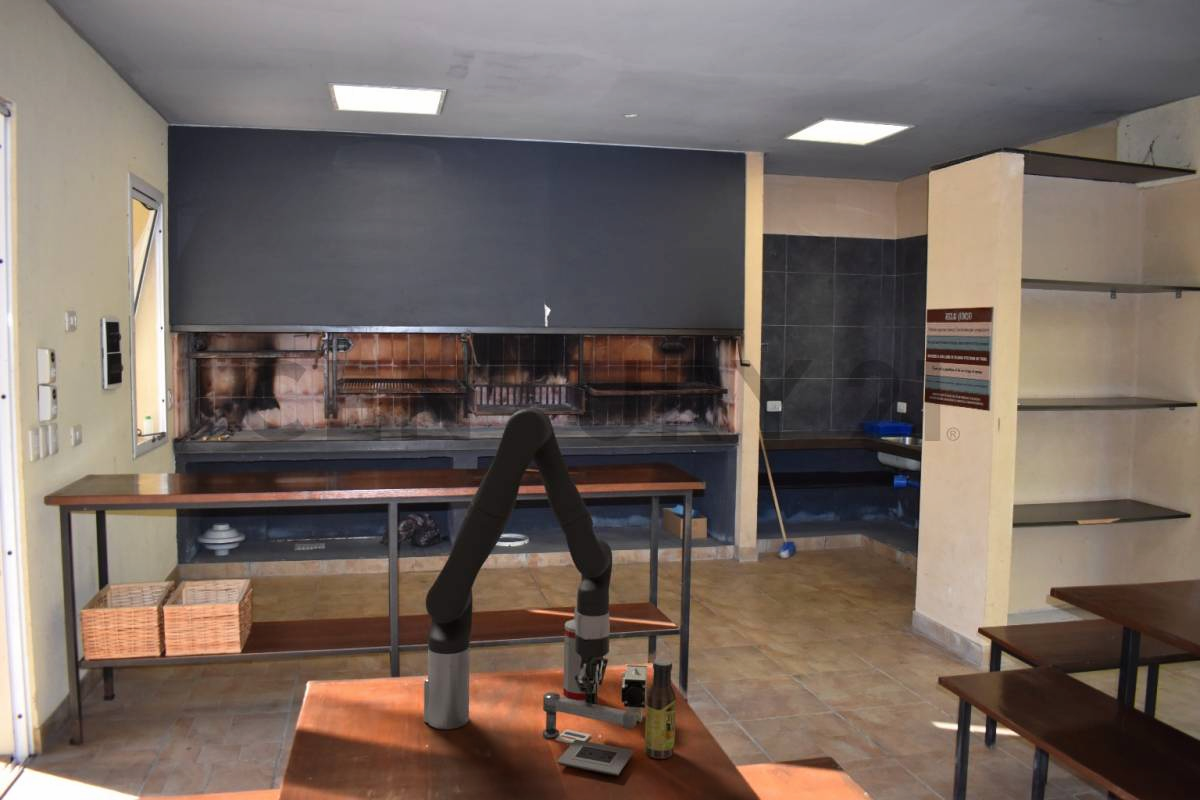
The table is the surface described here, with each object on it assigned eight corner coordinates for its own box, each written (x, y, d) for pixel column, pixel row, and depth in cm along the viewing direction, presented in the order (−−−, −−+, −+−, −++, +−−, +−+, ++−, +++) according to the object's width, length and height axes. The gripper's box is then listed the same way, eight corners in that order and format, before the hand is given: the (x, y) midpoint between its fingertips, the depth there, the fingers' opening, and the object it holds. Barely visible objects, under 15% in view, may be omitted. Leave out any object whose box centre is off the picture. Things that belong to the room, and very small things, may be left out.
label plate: (555, 740, 195) (556, 738, 195) (566, 730, 199) (566, 728, 199) (580, 746, 192) (580, 743, 192) (590, 736, 197) (590, 734, 197)
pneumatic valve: (645, 708, 212) (647, 659, 211) (644, 730, 200) (645, 678, 199) (622, 707, 212) (623, 658, 211) (619, 729, 201) (620, 677, 200)
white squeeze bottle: (567, 689, 222) (568, 591, 220) (596, 692, 221) (599, 592, 219) (561, 703, 214) (563, 600, 212) (592, 705, 213) (594, 602, 211)
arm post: (539, 737, 196) (540, 712, 196) (547, 730, 199) (547, 705, 199) (554, 740, 195) (554, 715, 194) (561, 733, 198) (562, 708, 197)
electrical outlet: (633, 759, 188) (634, 748, 188) (618, 783, 178) (618, 772, 178) (575, 748, 192) (575, 738, 192) (556, 771, 182) (557, 760, 182)
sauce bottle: (670, 763, 186) (673, 669, 184) (641, 758, 188) (643, 665, 186) (677, 749, 192) (680, 658, 190) (648, 744, 194) (651, 655, 192)
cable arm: (540, 710, 195) (540, 697, 195) (547, 704, 199) (548, 691, 199) (630, 730, 187) (631, 716, 187) (637, 723, 190) (637, 710, 190)
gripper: (589, 620, 205) (588, 693, 206) (563, 638, 193) (562, 716, 194) (619, 625, 202) (618, 699, 203) (595, 643, 190) (594, 722, 191)
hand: (591, 707), depth 199 cm, fingers closed
